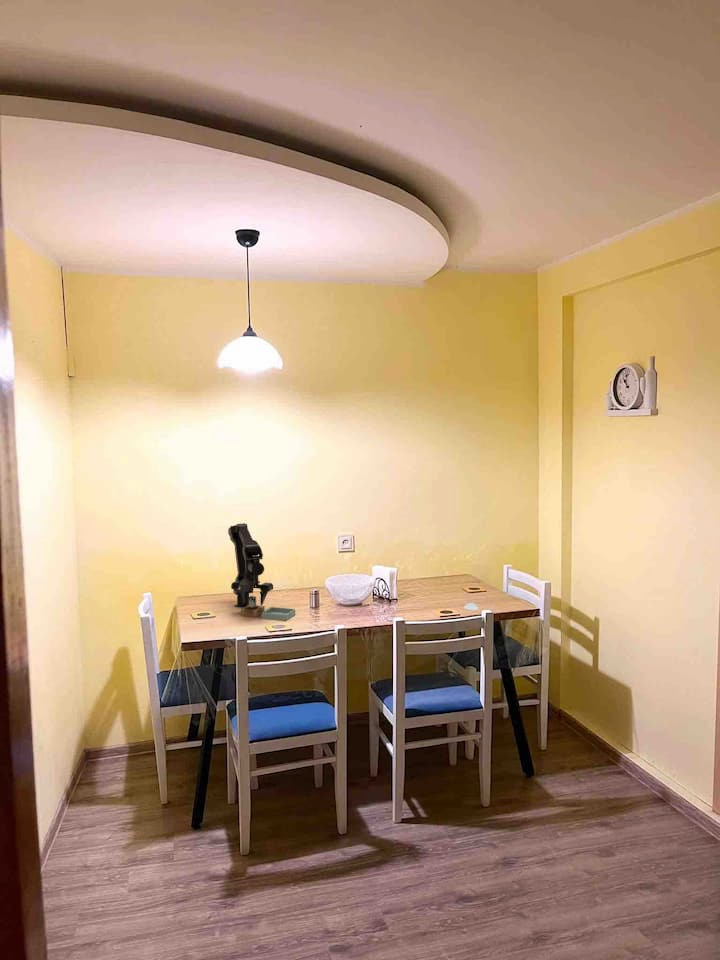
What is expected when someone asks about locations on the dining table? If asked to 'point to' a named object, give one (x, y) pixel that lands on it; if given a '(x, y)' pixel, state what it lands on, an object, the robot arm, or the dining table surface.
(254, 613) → the socket block
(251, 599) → the pin
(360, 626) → the dining table surface
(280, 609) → the tray
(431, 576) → the dining table surface
